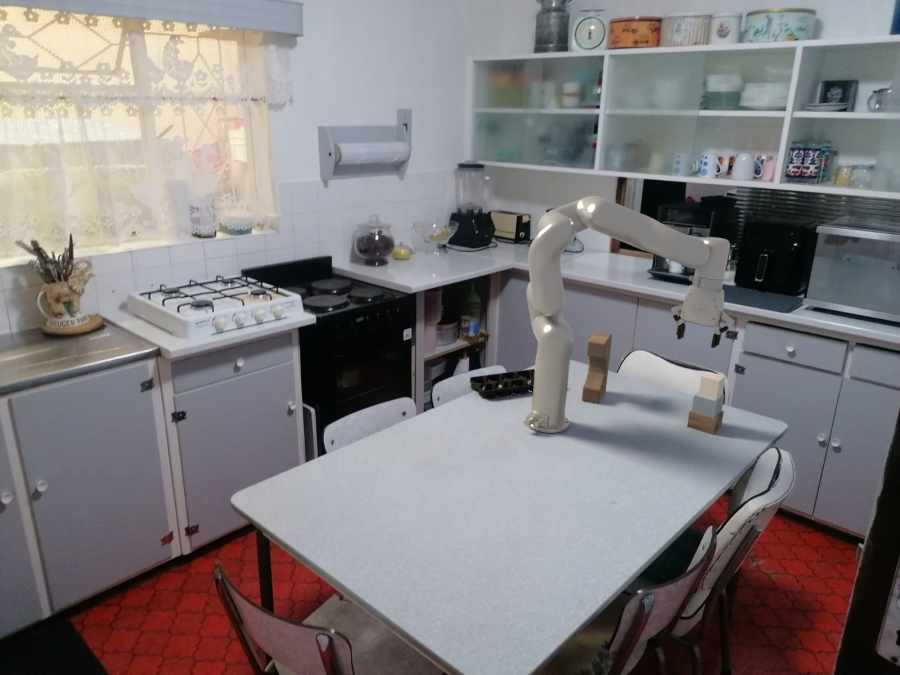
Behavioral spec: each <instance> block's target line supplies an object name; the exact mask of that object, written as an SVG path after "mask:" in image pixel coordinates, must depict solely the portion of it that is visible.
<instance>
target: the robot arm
mask: <svg viewBox="0 0 900 675" xmlns="http://www.w3.org/2000/svg"><path fill="white" fill-rule="evenodd" d="M589 228H590V229H591V230H593V231H595V232H598V233H600V234H603V235H604V236H608V237H610V238H612V239H615V240H617V241H620V242H622V243H625V244H627V245H630V246H632V247H635V248H636V249H639V250H642V251H645V252H648V253H651V254H654V255H657V256H659V257H662V258H664V259H667V260H669V261H671V262H674V263H676V264H679V265H681V266H684V267H686V268H689V269H695V272H694V275H689V277H688V281H690V282H692V284H690V285H689V286H688V289H687V291H686V294H685V296H684V300H683V304H681V305H675V306H673V307H671V308H670V310H671V314H672V317H673V319H674V321H675V322H676V325H677V328H676V334H675V335H676V339H677V340H681V339H683V338H684V337H685V333H686V323H692V324H694V325H700V326H703V327H710V328H712V330H713V331H714V333H713V335H712V340H711V344H710V345H711V346H710V348H712V349H714V348H716V347H718V346H719V345H720V342H721V337H722V334H724V333H725V332H727V331H728V330H730V328H731V327H732V326H733V325H734V324H735V323H736V322H735V320H734V319H733V318H731V317H730V316H729V315H728V314H726V313H725V312H724V307H725V305H724V304H725V291H724V289H723V285H724V280H725V275H726V269H727V264H728V260H729V254H730V250H731V243H730V241H729V240H728V239H726V238H721V237H716V236H715V237H713V236H708V237H707V236H706V237H700V236H696V235H690V234H686V233H683V232H681V231H679V230H676V229H675V228H672V227H669V226H668V225H666V224H663V223H662V222H660V221H658V220H656V219H654V218H652V217H650V216H648V215H647V214H644V213H641V212H638V211H635V210H634V209H631V208H629V207H627V206H626V207H625V206H624V205H621V204H619V203H617V202H614V201H612V200H609V199H606V198H603V197H601V196H599V195H589V196H585V197H583V198H580V199H577V200H575V201H572V202H570V203H567V204H564V205H562V206H559V207H556V208H554V209H552V210H549V211H547V212H546V213H544V214H543V215H542V216H541V218H540V219H539V221H538V225H537V231H538V234H537V235H536V236H535V238H534V239H533V241H532V243H531V245H530V247H529V250H528V253H527V254H528V255H527V264H528V271H529V272H528V273H529V280H530V281H529V282H528V284H527V287H526V300H527V306H528V312H529V320H530V324H531V330H532V332H533V335H534V336H535V338H536V340H537V351H536V356H535V361H534V369H535V375H534V387H533V393H532V402H531V411H530V413H529V414H527V415H526V416H525V419H524V420H523V425H524V426H525V427H529V428H530V429H532V430H534V431H537V432H541V433H547V434H549V433H550V434H557V433H561V432H564V431H566V430H568V428H569V427H570V420H569V418H568V417H566V415H565V414H566V404H567V395H568V384H569V372H570V365H571V357H572V352H573V348H574V340H575V337H574V332H573V330H572V328H571V327H570V325H569V323H568V322H567V321H566V320H565V319H564V312H563V310H564V308H565V305H566V292H565V288H564V281H563V276H562V268H561V257H562V256H563V253H564V251H565V250H566V249H567V248H568V247H569V246H570V245H571V244H572V243H573V242H574V240H575V238H576V236H577V233H579V232H582V231H584V230H587V229H589ZM679 311H681V312H680V314H679ZM722 320H723V321H725V322H726V324H725V325H724V326H723V327H722V325H721V323H722Z"/></svg>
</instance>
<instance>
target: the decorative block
mask: <svg viewBox="0 0 900 675" xmlns="http://www.w3.org/2000/svg"><path fill="white" fill-rule="evenodd" d="M612 339H613V335H612V334H611V333H605V332H599V331H595V332H594V333H593V335H592V336H591V337H590V338H589V339H588V341H587V344H586V345H587V346H586V357H588V366H587V367H588V368H587V369H588V370H587V374H586V379H585V381H584V384H583V386H582V391H581V392H582V394H581V401H582V402H586V401H587V403H591V402H592V403H591V404H596V403H597V404H600V403H601V400H602V399H603V398H604V395H605V394H606V392H607V383H608V374H609V367H610V357H611V350H612ZM597 404H596V405H597Z"/></svg>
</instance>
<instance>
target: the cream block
mask: <svg viewBox="0 0 900 675" xmlns="http://www.w3.org/2000/svg"><path fill="white" fill-rule="evenodd" d="M725 380H726V375H722V374H718V373H715V372H709V371H707V372H706V373H704V374H703V375H702V376H701V378H700V383H699V384H700V385H699V391H698V392H699V395H698V396H701V397H705V398H708V399H712V400H715V401H716V400H717V399H719V398H720V397H721V396H722V395H723V391H724V386H725Z"/></svg>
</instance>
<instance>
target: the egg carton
mask: <svg viewBox="0 0 900 675" xmlns="http://www.w3.org/2000/svg"><path fill="white" fill-rule="evenodd" d="M534 375H535V368H531V369H524V370H523V369H522V370H516V371H508V372H499V373H493V374H492V373H491V374H485V375H477V376H471V377H470V378H469V383H470V388H471V389H472V390H473V391H475V392H477V393H478V395H479V397H481V398H482V399H483V400H484V399H486V400H492V399H497V396H498V397H500V398H506V397H507V396H508V397H512V396H513V395H516V394H522V395H525V394H524V393H527V394H529V392H530V391H532V392H533V387H534ZM528 379H530V380H531V381H530V380H528ZM529 381H530V382H529ZM501 385H502V386H501ZM500 386H501V387H500ZM529 390H530V391H529ZM532 392H531V393H532ZM514 393H515V394H514ZM511 395H512V396H511Z"/></svg>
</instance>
